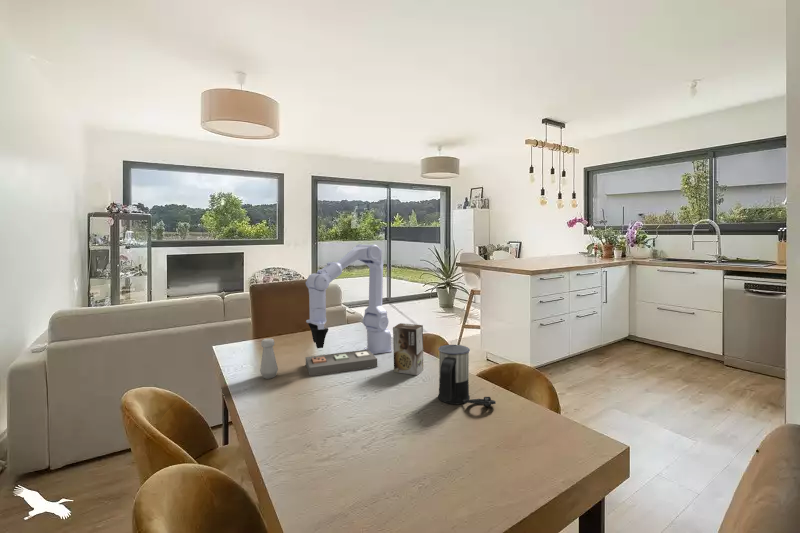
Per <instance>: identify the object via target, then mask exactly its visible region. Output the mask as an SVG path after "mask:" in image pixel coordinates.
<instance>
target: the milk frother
mask: <svg viewBox="0 0 800 533" xmlns="http://www.w3.org/2000/svg"><path fill="white" fill-rule="evenodd" d="M437 351H439V364H438V365H439V368H438V370H439V371H438V373H439V374H438V375H439V377H438V378H439V379H438V381H439V384H438V387H439V388H438V395H437V397H438V399H439V400H440V401H441V402H443V403H445V404H451V405H461V404H465V403H467V404H468V403H469V404H476V405H477V404H478V405H484V407H491V406H492V405H495V404H496V403H497V402H496V400H494V399H491V396H484V397H483V398H472V399H470V398H471V397H470V390H469V389H470V388H469V387H470V386H469V384H470V383H469V382H470V381H469V375H470V374H469V372H470V370H469V369H470V368H469V366H470V364H469V363H470V362H469V361H470V358H469V357H470V353H469V352H470V348H469V347H467V346H465V345H461V344H446V345H445V344H444V345H440V346H439V347H438V349H437Z"/></svg>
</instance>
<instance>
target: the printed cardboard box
mask: <svg viewBox="0 0 800 533" xmlns="http://www.w3.org/2000/svg"><path fill="white" fill-rule="evenodd" d="M423 330H424V325H423V324H411V323H402V322H401V323H398V324H396V325H395V326H393V327H392V340H393V341H392V344H393V372H394V373H397V374H398V373H399V374H407V375H412V376H413V375H414V376H418V375H419V374H420V373H422V372H423V371H424V331H423Z"/></svg>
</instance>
